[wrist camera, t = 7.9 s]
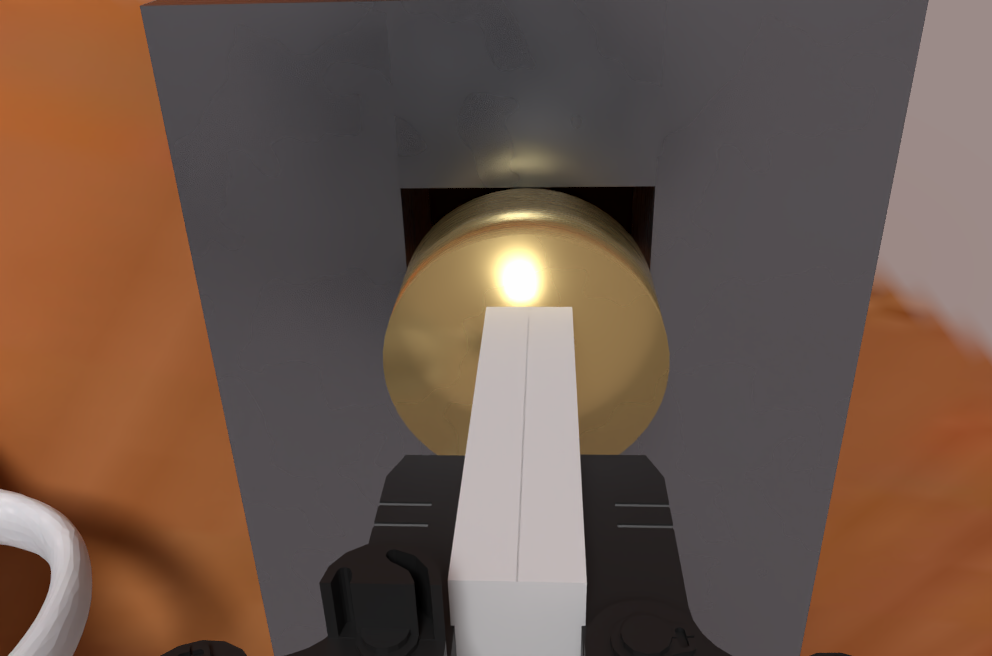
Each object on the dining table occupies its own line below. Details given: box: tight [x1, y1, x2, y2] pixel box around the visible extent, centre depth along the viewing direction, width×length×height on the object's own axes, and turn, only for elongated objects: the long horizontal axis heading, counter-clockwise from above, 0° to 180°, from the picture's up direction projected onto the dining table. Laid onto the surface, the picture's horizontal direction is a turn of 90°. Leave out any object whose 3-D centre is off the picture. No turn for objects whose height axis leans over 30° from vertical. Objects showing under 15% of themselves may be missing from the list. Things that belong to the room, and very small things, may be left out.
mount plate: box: [140, 0, 928, 656], centre depth 23 cm, size 14×26×4 cm, turn 2°
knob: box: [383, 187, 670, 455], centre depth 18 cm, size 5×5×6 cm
